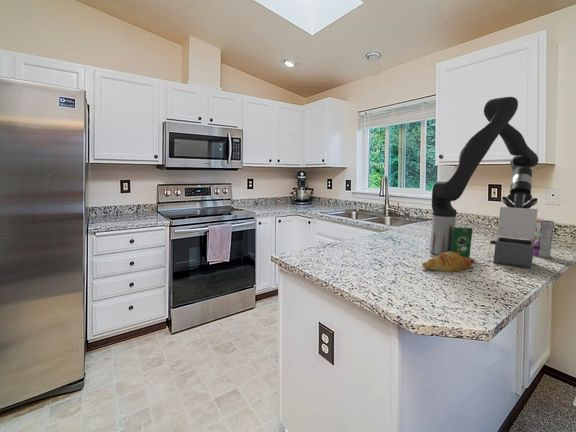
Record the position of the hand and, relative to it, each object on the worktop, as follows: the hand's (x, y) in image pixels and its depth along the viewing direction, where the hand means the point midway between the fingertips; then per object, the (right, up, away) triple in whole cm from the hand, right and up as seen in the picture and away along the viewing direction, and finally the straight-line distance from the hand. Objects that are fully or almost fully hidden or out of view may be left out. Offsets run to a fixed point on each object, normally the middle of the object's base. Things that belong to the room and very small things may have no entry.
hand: (517, 215), depth 128 cm
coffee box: (-23, -18, +3) cm, 30 cm away
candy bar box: (+15, -18, +8) cm, 25 cm away
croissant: (-37, -21, -14) cm, 45 cm away
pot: (-6, -19, -6) cm, 21 cm away
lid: (-2, 0, -3) cm, 4 cm away
